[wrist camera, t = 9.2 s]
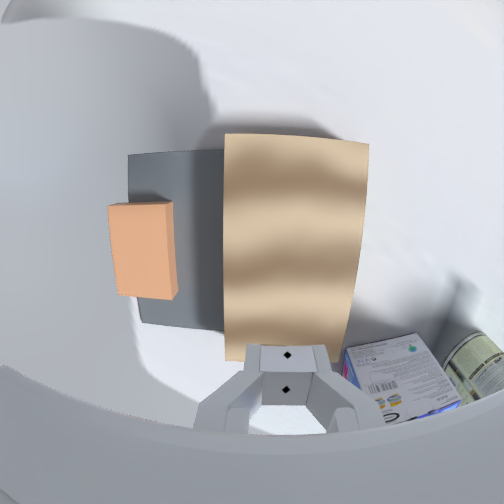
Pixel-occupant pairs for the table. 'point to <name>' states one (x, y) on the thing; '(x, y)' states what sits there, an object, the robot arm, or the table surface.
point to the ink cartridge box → (401, 378)
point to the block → (143, 249)
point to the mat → (186, 232)
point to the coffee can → (475, 368)
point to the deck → (291, 239)
